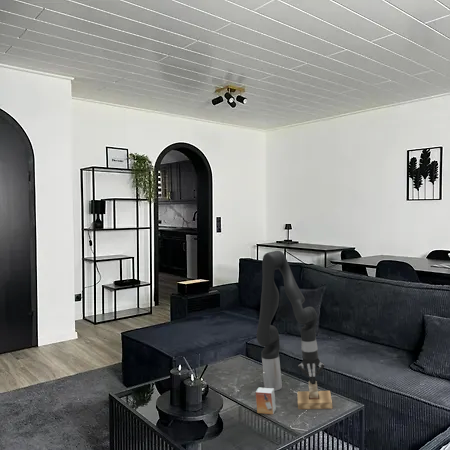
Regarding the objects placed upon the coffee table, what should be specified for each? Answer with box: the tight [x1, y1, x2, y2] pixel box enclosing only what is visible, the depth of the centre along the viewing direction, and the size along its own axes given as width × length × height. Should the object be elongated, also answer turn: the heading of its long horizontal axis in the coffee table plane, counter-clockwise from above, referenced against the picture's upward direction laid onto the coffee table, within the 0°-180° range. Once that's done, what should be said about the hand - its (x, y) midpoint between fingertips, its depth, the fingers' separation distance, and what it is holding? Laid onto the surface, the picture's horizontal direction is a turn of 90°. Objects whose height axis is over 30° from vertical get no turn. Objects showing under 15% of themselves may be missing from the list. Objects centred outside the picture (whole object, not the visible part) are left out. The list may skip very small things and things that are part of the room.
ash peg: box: [308, 380, 319, 399], centre depth 210 cm, size 4×4×10 cm
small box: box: [255, 386, 277, 415], centre depth 207 cm, size 8×6×10 cm
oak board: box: [297, 390, 333, 410], centre depth 210 cm, size 16×12×3 cm
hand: (313, 383), depth 209 cm, fingers closed
